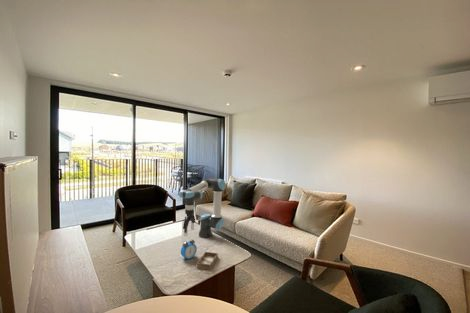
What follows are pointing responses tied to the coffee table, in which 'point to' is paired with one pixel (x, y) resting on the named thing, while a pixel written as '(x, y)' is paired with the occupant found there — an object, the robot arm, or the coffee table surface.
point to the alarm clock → (188, 249)
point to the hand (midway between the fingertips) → (189, 232)
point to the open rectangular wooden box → (207, 260)
